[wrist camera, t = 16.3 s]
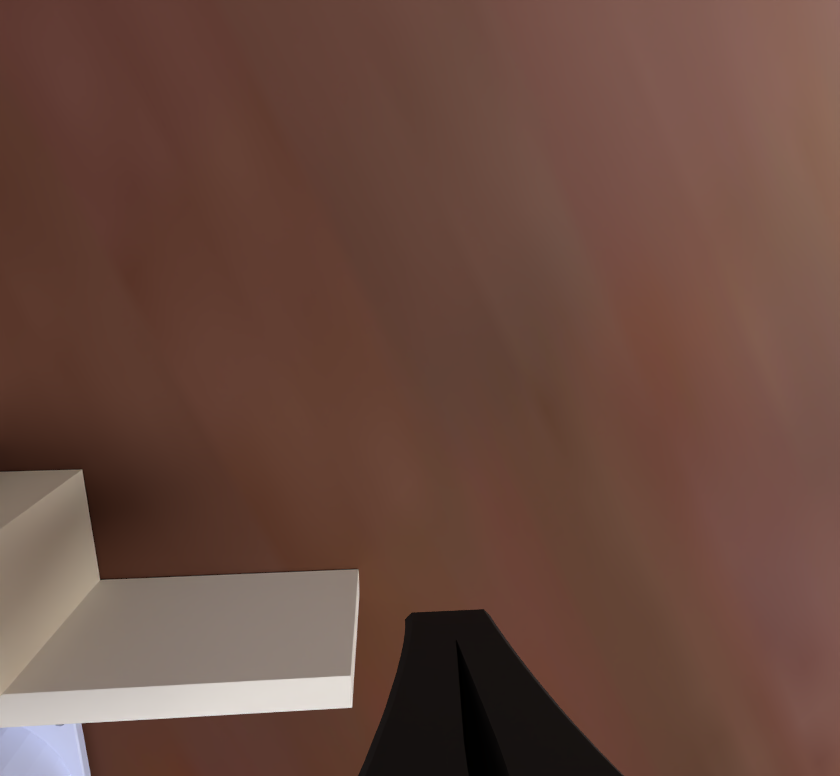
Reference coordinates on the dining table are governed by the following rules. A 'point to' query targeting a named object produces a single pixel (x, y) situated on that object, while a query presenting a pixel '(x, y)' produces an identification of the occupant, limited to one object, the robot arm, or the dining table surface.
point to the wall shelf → (154, 626)
